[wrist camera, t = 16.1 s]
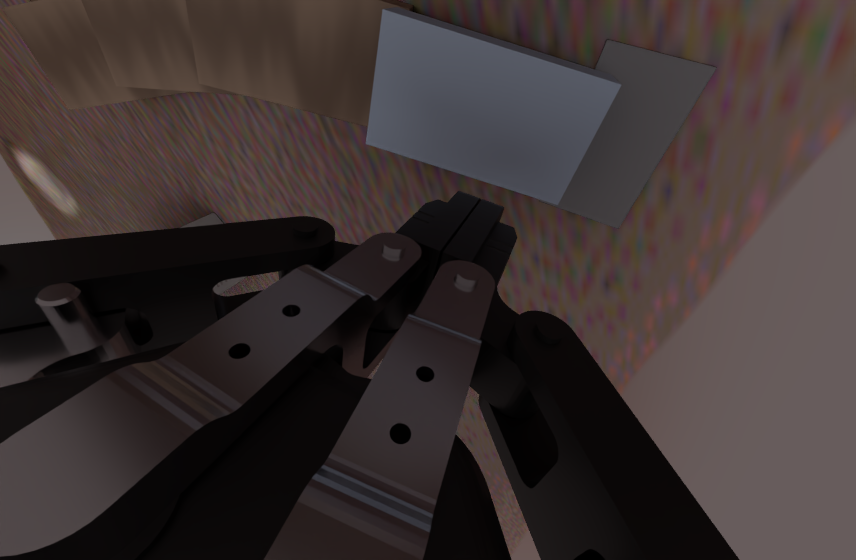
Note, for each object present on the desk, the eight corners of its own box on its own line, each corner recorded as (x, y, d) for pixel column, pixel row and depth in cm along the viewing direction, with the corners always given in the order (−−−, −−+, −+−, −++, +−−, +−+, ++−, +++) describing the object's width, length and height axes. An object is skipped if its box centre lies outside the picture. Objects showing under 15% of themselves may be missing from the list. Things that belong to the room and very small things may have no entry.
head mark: (618, 227, 18) (618, 228, 18) (539, 199, 19) (539, 200, 19) (715, 67, 13) (716, 67, 13) (607, 39, 14) (607, 39, 14)
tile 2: (389, 132, 18) (199, 83, 17) (394, 119, 19) (220, 74, 18) (409, 9, 15) (175, -60, 14) (413, 5, 16) (203, -57, 15)
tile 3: (288, 98, 19) (116, 86, 19) (300, 91, 21) (142, 80, 21) (268, -27, 16) (64, -41, 16) (284, -24, 18) (99, -37, 18)
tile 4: (203, 89, 21) (69, 110, 22) (222, 84, 22) (95, 103, 24) (153, -23, 18) (1, 7, 19) (178, -21, 19) (37, 7, 21)
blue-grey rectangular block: (557, 205, 16) (365, 143, 16) (554, 186, 18) (379, 130, 18) (621, 84, 13) (382, 9, 13) (611, 74, 15) (397, 6, 15)
